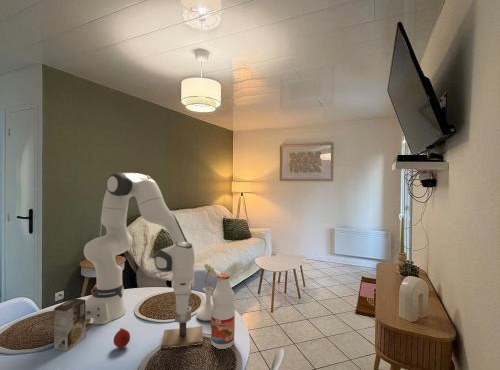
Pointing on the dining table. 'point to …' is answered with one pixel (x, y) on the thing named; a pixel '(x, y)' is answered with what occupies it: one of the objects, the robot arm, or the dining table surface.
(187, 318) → the steel collar
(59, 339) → the coffee box
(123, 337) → the onion
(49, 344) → the dining table surface
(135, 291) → the dining table surface
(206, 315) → the flower in vase
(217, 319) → the fruit juice
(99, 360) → the dining table surface
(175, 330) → the post board
